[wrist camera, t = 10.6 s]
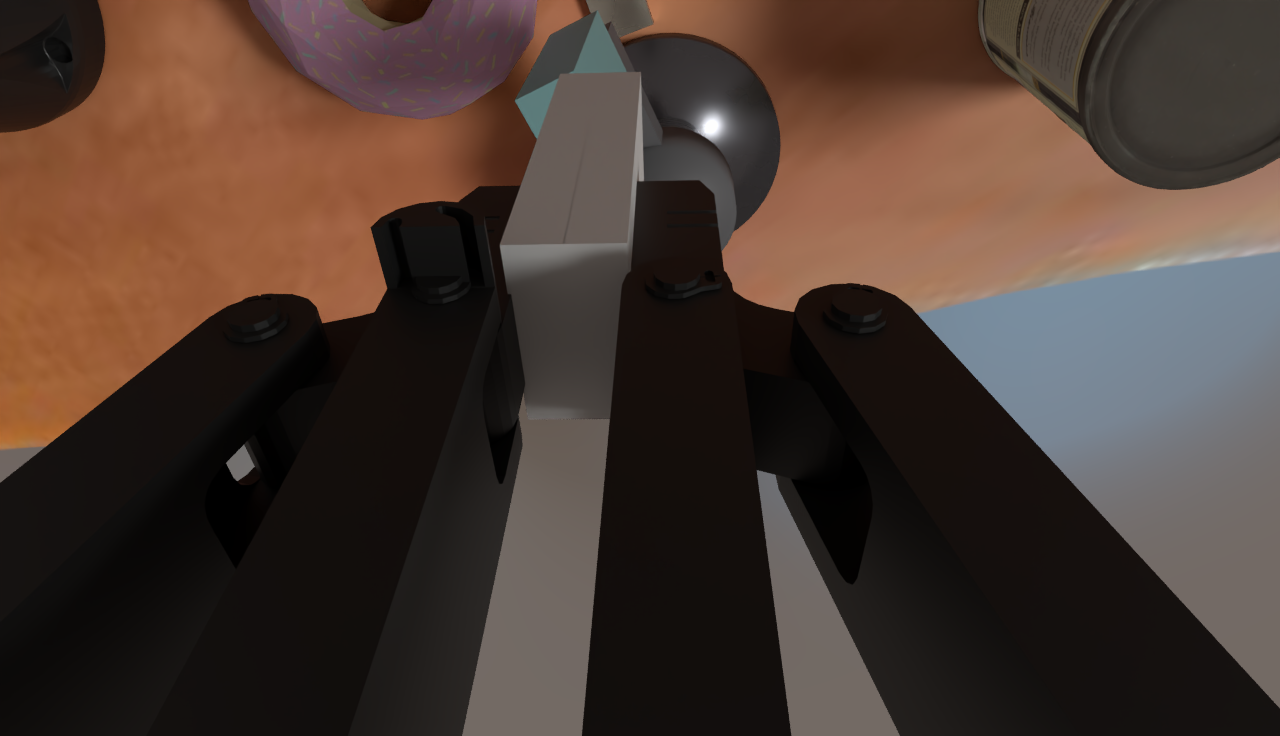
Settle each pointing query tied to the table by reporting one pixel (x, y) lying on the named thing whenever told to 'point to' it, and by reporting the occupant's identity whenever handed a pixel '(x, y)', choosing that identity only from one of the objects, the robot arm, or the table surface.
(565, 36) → the teal grey l-shaped block
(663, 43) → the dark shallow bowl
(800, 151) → the table surface
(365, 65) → the donut
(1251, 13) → the coffee can
